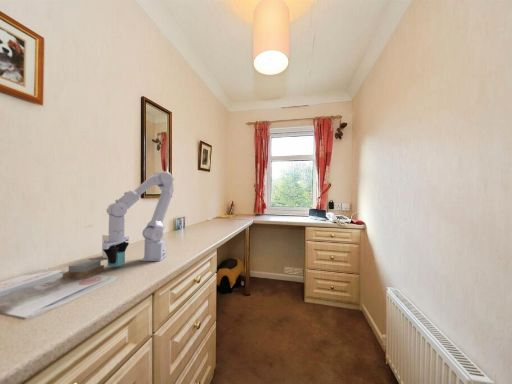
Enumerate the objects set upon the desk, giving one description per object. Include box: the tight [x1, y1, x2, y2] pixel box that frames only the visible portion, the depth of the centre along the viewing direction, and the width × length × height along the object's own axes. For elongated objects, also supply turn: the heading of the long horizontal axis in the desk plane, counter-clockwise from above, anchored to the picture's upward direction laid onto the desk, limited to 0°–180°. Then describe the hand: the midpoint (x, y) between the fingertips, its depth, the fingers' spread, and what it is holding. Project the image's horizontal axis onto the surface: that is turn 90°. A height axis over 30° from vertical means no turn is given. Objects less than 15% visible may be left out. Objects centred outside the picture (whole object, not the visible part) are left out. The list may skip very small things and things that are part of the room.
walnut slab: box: [62, 264, 105, 279], centre depth 81 cm, size 9×9×2 cm
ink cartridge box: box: [101, 233, 115, 259], centre depth 104 cm, size 9×5×15 cm, turn 168°
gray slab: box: [68, 259, 102, 273], centre depth 82 cm, size 7×7×2 cm
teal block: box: [107, 251, 126, 267], centre depth 89 cm, size 4×4×5 cm
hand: (116, 261), depth 89 cm, fingers closed on teal block, 4 cm apart
